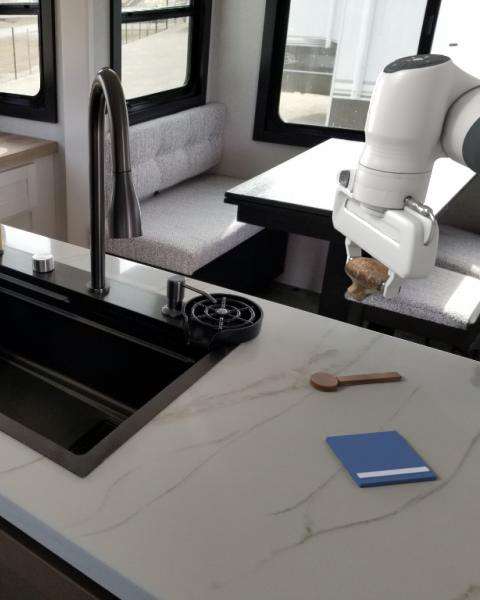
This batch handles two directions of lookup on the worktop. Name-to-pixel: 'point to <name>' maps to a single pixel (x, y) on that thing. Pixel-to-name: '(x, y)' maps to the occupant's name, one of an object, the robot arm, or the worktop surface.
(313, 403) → the worktop surface
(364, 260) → the mushroom
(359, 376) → the spoon
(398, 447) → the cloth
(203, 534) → the worktop surface
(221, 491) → the worktop surface
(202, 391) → the worktop surface
